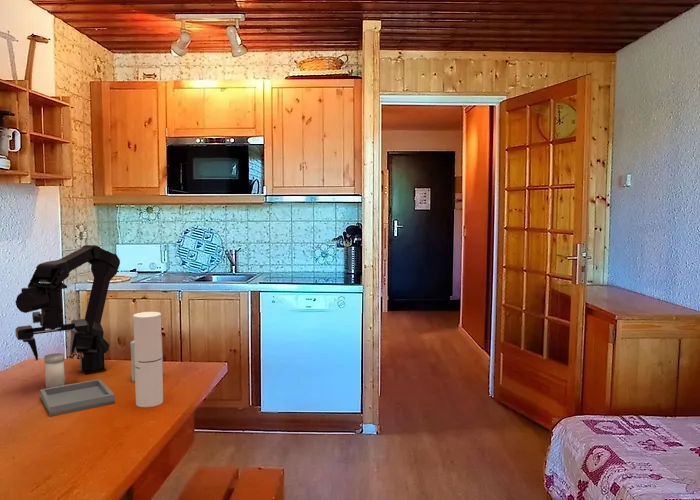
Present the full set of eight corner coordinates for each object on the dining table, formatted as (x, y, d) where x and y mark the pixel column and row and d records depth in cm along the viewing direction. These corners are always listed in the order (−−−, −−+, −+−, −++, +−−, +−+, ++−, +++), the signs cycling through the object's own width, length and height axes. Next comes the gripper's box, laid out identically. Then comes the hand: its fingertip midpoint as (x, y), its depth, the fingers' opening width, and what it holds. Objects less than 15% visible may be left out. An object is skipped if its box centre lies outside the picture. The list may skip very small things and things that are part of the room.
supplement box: (164, 374, 180) (163, 336, 178) (153, 382, 172) (152, 342, 171) (142, 374, 180) (141, 335, 179) (130, 381, 173) (129, 341, 172)
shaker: (63, 383, 171) (62, 352, 170) (66, 388, 166) (65, 356, 165) (44, 387, 167) (42, 355, 166) (47, 392, 163) (45, 359, 162)
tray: (100, 386, 168) (100, 378, 168) (114, 403, 155) (114, 394, 155) (40, 398, 158) (39, 389, 158) (50, 416, 146) (49, 407, 145)
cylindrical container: (154, 408, 152) (151, 317, 149) (130, 406, 153) (127, 316, 151) (167, 398, 159) (165, 312, 156) (145, 396, 160) (142, 311, 158)
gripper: (80, 297, 176) (82, 346, 178) (11, 304, 165) (14, 356, 167) (88, 303, 168) (90, 354, 169) (16, 311, 156) (19, 365, 158)
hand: (54, 357), depth 166 cm, fingers open, 9 cm apart
